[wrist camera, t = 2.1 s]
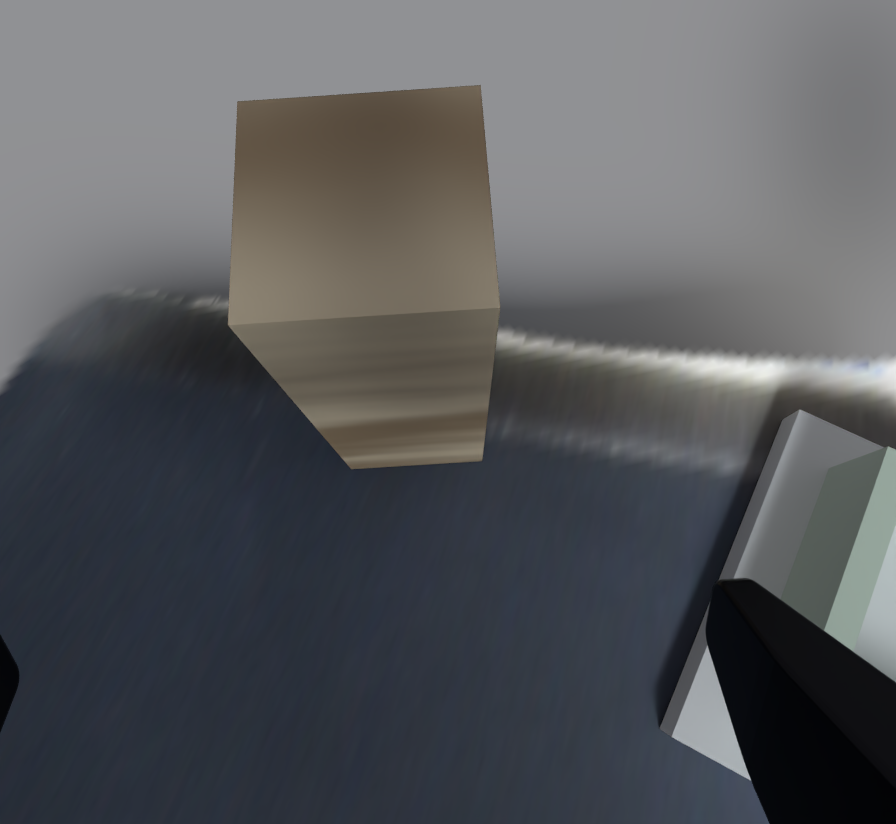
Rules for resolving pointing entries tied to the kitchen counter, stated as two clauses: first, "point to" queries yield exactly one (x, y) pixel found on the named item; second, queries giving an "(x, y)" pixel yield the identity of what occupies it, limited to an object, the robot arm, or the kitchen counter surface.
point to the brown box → (370, 267)
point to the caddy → (806, 563)
